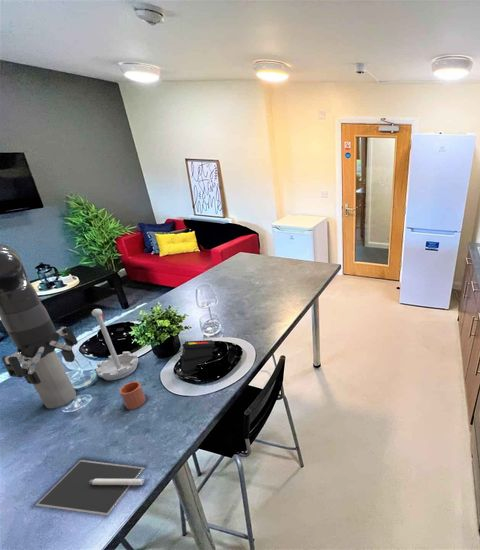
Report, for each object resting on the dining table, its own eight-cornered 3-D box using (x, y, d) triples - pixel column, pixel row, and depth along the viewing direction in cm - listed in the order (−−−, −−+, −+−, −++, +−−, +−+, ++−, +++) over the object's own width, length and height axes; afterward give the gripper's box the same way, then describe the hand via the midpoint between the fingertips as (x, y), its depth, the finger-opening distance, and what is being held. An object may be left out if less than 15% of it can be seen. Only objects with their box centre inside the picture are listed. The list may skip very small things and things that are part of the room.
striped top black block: (173, 375, 116) (183, 341, 115) (206, 371, 126) (216, 339, 126) (176, 380, 114) (187, 345, 113) (210, 375, 124) (220, 343, 123)
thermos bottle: (47, 399, 105) (12, 336, 94) (77, 389, 110) (47, 327, 98) (45, 414, 100) (7, 348, 88) (76, 402, 104) (44, 339, 93)
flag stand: (138, 376, 117) (115, 313, 104) (96, 388, 111) (66, 322, 98) (142, 357, 127) (121, 298, 115) (103, 367, 121) (77, 305, 109)
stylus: (87, 486, 78) (140, 486, 79) (88, 480, 79) (140, 480, 79) (92, 482, 80) (143, 483, 80) (92, 477, 80) (144, 477, 80)
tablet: (108, 517, 73) (106, 515, 73) (36, 507, 75) (34, 505, 74) (145, 469, 84) (144, 467, 84) (81, 461, 86) (80, 459, 85)
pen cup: (137, 411, 102) (130, 394, 99) (122, 409, 102) (115, 393, 99) (150, 398, 107) (144, 382, 104) (135, 397, 108) (129, 380, 104)
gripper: (46, 306, 79) (68, 353, 86) (-23, 337, 66) (10, 390, 73) (71, 309, 79) (91, 356, 85) (6, 340, 66) (36, 393, 72)
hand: (54, 371), depth 79 cm, fingers open, 8 cm apart
